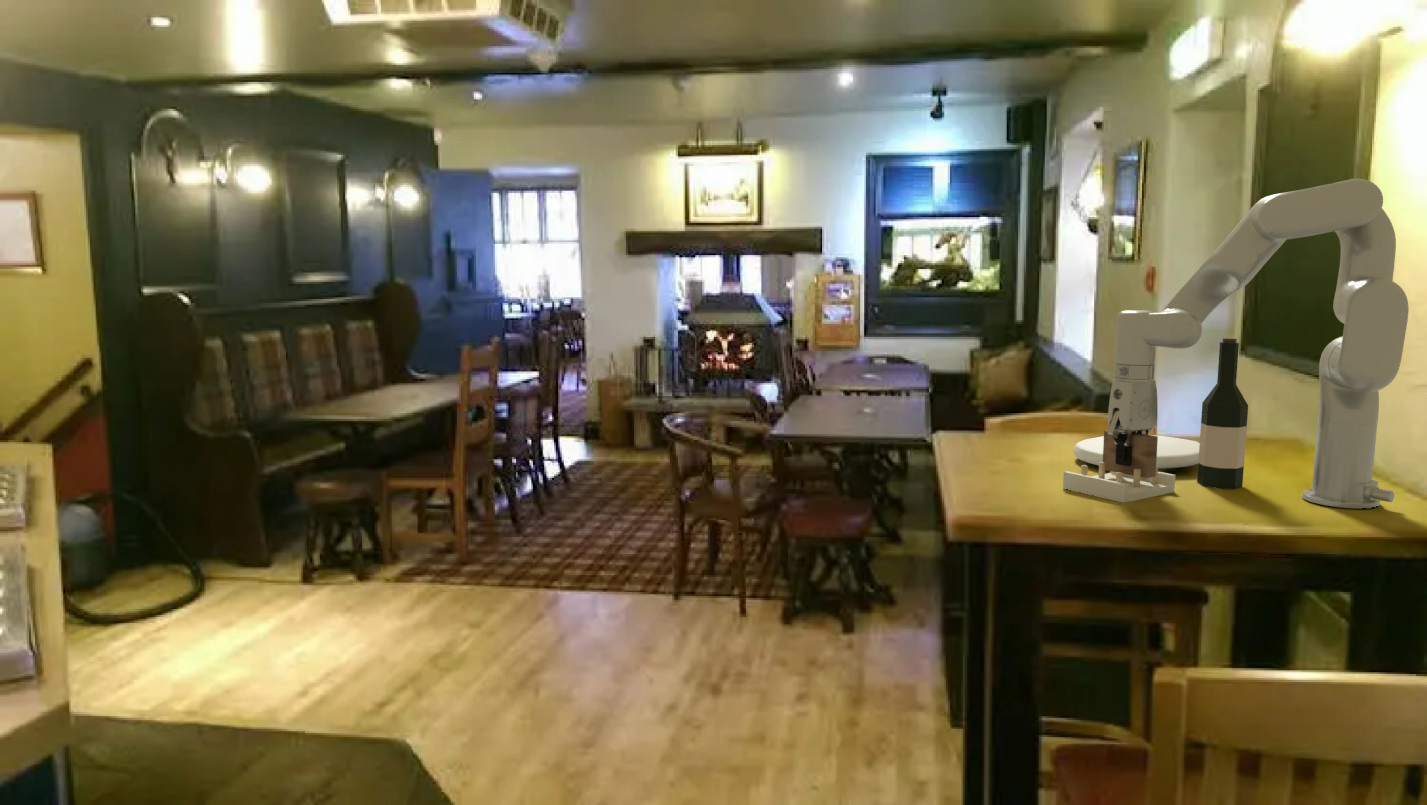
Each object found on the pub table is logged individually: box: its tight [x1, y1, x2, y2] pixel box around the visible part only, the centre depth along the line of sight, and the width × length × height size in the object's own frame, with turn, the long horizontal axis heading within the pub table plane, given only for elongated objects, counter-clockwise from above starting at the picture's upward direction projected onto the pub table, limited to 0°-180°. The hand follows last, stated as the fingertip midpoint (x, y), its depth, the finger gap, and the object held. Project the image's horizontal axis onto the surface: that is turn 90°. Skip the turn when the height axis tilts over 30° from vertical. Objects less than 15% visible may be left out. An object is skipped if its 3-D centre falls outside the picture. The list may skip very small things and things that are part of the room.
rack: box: [1062, 462, 1176, 504], centre depth 201 cm, size 14×16×5 cm
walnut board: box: [1103, 429, 1159, 478], centre depth 202 cm, size 10×3×8 cm, turn 33°
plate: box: [1073, 434, 1200, 470], centre depth 227 cm, size 28×6×27 cm
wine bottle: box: [1196, 337, 1249, 490], centre depth 205 cm, size 8×8×30 cm
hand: (1129, 462), depth 202 cm, fingers closed on walnut board, 3 cm apart
